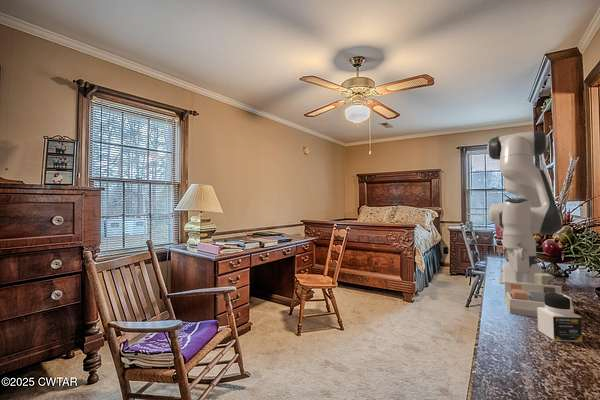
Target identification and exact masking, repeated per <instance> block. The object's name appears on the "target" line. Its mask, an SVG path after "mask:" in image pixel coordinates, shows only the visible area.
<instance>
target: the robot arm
mask: <svg viewBox="0 0 600 400" xmlns="http://www.w3.org/2000/svg"><path fill="white" fill-rule="evenodd" d="M487 143H488V144H487V146H486V151H487V154H488V156H489V158H490V159H492V160H499V167H500V168H499V169H500V173H501V175H502V176H503V180H504V181H503V182H504V185H503V186H504V189H505V191H506V192H507V193H508V194H510V195H513V196H516V197H512V198H507V199H505V200H504V201H503V202H499V203H494V204H491V206H489V208H488V210H487V217H488V219H489V221H491V223H493V224H494V225H495V226H497V227H498V228H499V229H500V230H501V231H502V247H503V248H505V249H506V253H505V254H506V255H505V259H506V260H505V261H506V263H504V265H502V267H501V268H500V272H501V276H500V278H499V279H498V283H500V284H504V285H505V283H504V281H508V282H519V283H531V284H535V274H534V273H543V268H542V267H541V266H540V265H539V264H538V263H539V261H538V260H539V258H538V255H537V241H536V238H535V237H534V234H542V235H549V236H550V235H554V234H557V233H558V232H559V231H561V229H562V227H563V216H562V214H561V213H560V211H559V209H558V206H557V203H556V201H555V197H554V194H553V192H552V188H551V185H550V182H549V179H548V176H547V175H546V172H545V171H544V170H543V169H541V168H538V167H537V166H536V165H535V163H534V160H533V159H537V157H539V156H542V155H543V154H544V153H545V152H546V151H547V149H548V146H549V137H548V135H547V134H546V133H545V132H544V131H541V130H534V131H527V132H526V131H524V132H523V131H522V132H516V133H511V134H506V135H502V136H495V137H492V138H491V139H490V140H489V141H488V142H487ZM533 157H534V158H533Z"/></svg>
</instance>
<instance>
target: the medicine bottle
mask: <svg viewBox="0 0 600 400" xmlns="http://www.w3.org/2000/svg"><path fill="white" fill-rule="evenodd" d="M572 299H573V298H572V297H571V296H569V295H567V294H563V293H562V294H559V293H547V294H545V295H544V301H545V307H538V308H537V313H538V317H537V331H538V332H539V333H542V334H543V335H545V336H546V337H548V338H549V339H551V340H552V341H554V342H577V343H582V342H583V330H582V328H583V325H582V316H581V315H579V314H576V313H575V312H574V313H572V312H571V311H572V305H573V300H572Z"/></svg>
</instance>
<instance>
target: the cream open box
mask: <svg viewBox="0 0 600 400" xmlns="http://www.w3.org/2000/svg"><path fill="white" fill-rule="evenodd" d="M504 283H505V284H504ZM504 283H503V284H504V303H505V305H506V307H507V310H508V312H509V314H510V315H511V314H512V315H518V316H525V317H526V316H527V317H534V318H538V313H537V308H538V307H545V302H536V301H531V299H530V298H529V290H530V291H540V292H543V293H544V294H547V292H551V293H561V294H563V292H562V286H561V285H555V284H554V285H542V284H531V283H519V282H508V281H504ZM512 289H520V290H525V291H526V293H527V299H528V301H527V300H518V299H514V298H513V296H512ZM574 309H575V308H574V305H573V304H572V311H571V312H572V313H575V311H574Z"/></svg>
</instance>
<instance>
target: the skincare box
mask: <svg viewBox="0 0 600 400" xmlns="http://www.w3.org/2000/svg"><path fill="white" fill-rule="evenodd" d="M534 274H535V284H542V285H554V286H555V281H554V275H552V274H549V273H543V272H542V273H534Z"/></svg>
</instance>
